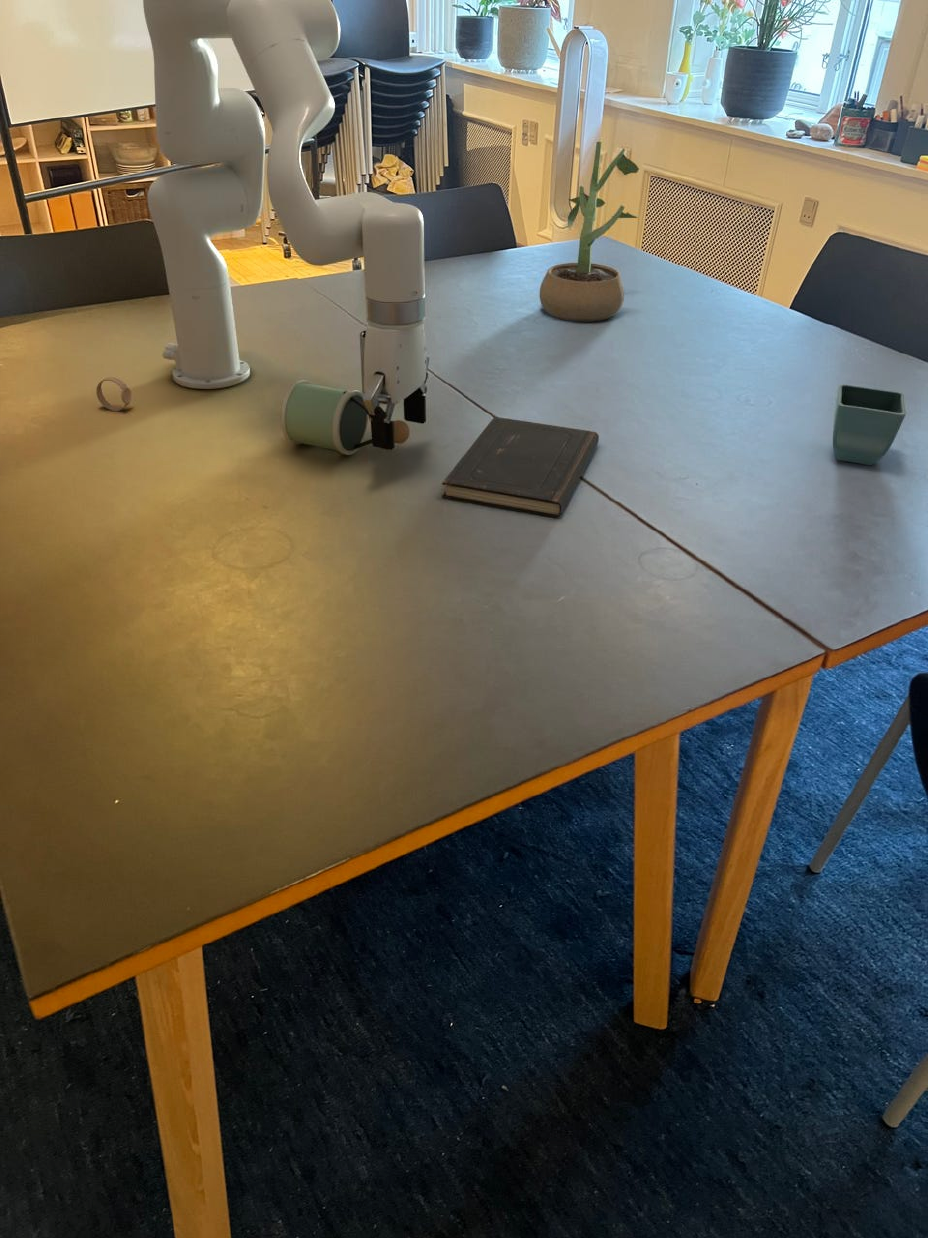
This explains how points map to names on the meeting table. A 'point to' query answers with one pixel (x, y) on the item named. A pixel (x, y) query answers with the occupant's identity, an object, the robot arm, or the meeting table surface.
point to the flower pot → (866, 423)
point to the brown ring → (124, 394)
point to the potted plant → (587, 260)
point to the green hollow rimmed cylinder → (329, 418)
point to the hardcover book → (522, 466)
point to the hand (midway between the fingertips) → (399, 434)
